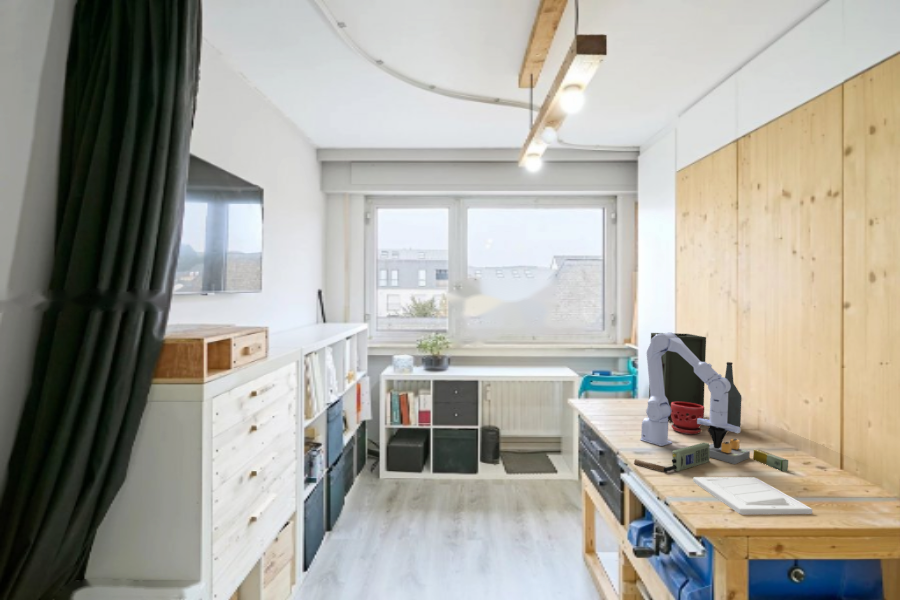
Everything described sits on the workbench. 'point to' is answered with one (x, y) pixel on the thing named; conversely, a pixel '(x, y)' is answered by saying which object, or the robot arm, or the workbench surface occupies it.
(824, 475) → the workbench surface
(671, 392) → the tall dark green cabinet
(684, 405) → the plant pot
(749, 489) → the vent cover
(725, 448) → the breaker
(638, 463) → the wooden dowel
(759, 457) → the medication box
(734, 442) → the breaker
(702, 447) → the handheld radio
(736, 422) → the bottle
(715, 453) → the box
